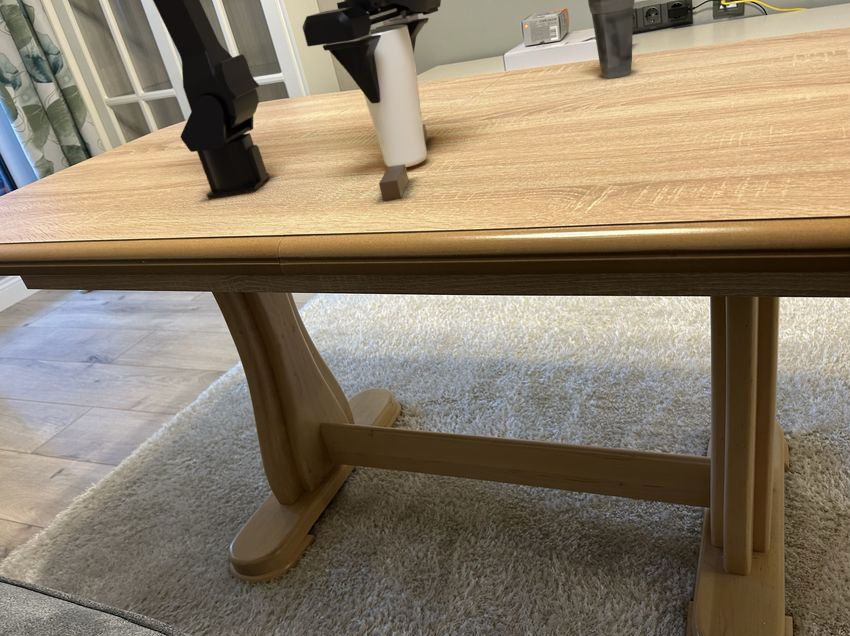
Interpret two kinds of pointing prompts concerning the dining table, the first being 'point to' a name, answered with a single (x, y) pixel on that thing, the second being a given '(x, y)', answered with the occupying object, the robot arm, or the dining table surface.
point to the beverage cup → (613, 35)
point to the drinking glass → (397, 99)
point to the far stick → (425, 133)
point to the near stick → (393, 182)
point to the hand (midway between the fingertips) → (391, 95)
